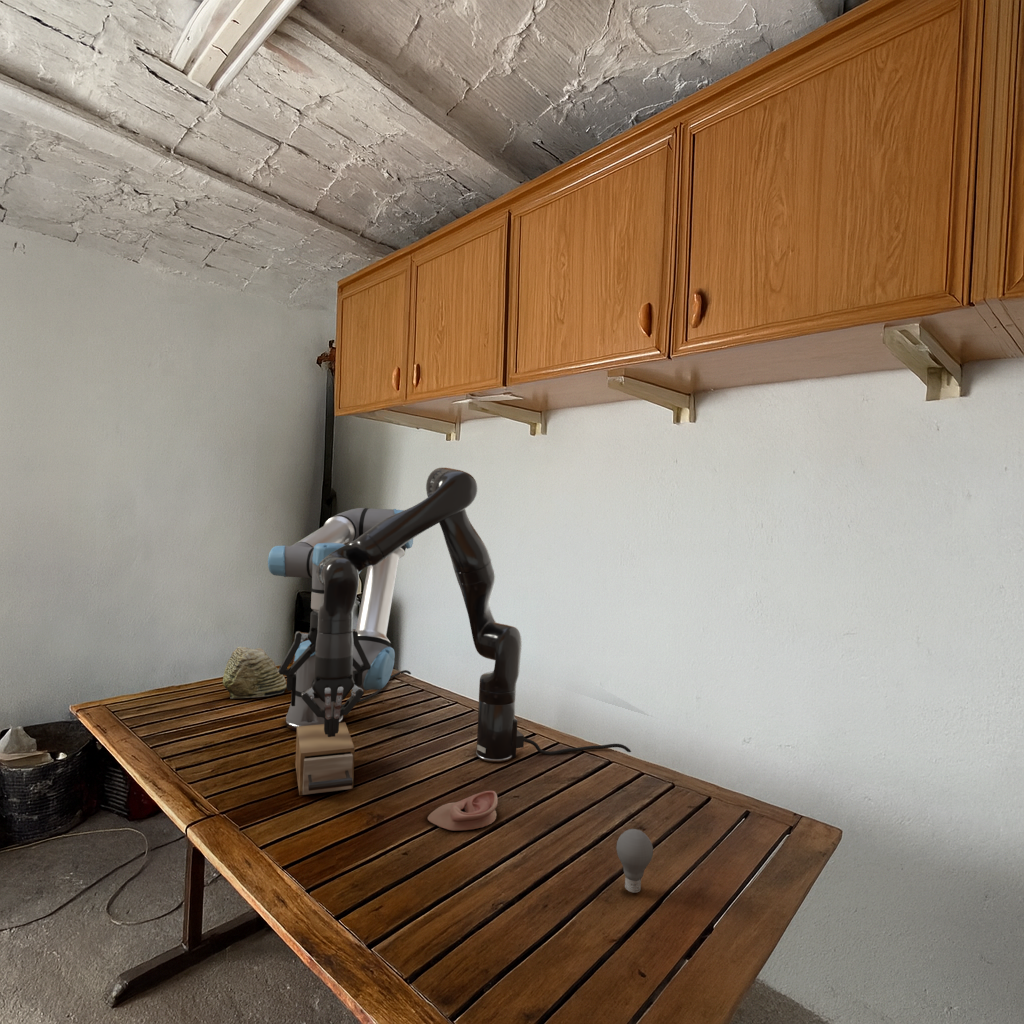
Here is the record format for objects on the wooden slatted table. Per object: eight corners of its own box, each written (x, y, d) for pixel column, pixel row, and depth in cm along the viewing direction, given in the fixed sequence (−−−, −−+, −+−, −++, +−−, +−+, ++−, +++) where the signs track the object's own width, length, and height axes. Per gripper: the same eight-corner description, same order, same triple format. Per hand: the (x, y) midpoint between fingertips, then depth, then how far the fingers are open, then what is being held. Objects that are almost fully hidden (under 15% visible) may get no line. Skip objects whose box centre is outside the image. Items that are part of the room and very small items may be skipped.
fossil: (218, 695, 195) (220, 647, 195) (278, 685, 208) (279, 640, 207) (228, 703, 189) (230, 653, 188) (289, 692, 201) (290, 645, 201)
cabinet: (353, 788, 138) (354, 747, 138) (299, 795, 134) (300, 753, 134) (343, 759, 153) (345, 722, 153) (295, 764, 149) (296, 726, 149)
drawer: (355, 801, 131) (356, 766, 131) (304, 807, 127) (306, 772, 127) (343, 760, 150) (344, 730, 150) (298, 765, 146) (300, 734, 146)
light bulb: (610, 879, 108) (613, 822, 108) (644, 879, 109) (647, 822, 109) (619, 902, 102) (622, 840, 102) (655, 901, 103) (658, 840, 103)
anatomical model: (422, 806, 123) (441, 781, 134) (422, 826, 123) (440, 799, 134) (489, 816, 120) (502, 789, 132) (488, 836, 121) (501, 808, 132)
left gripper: (270, 614, 138) (266, 711, 138) (385, 611, 147) (381, 702, 147) (269, 608, 145) (266, 700, 145) (379, 606, 154) (375, 693, 154)
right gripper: (301, 658, 125) (298, 745, 125) (369, 655, 130) (366, 739, 130) (299, 649, 132) (296, 732, 132) (364, 646, 137) (360, 726, 137)
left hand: (324, 702), depth 146 cm, fingers open, 13 cm apart
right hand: (331, 735), depth 131 cm, fingers closed
